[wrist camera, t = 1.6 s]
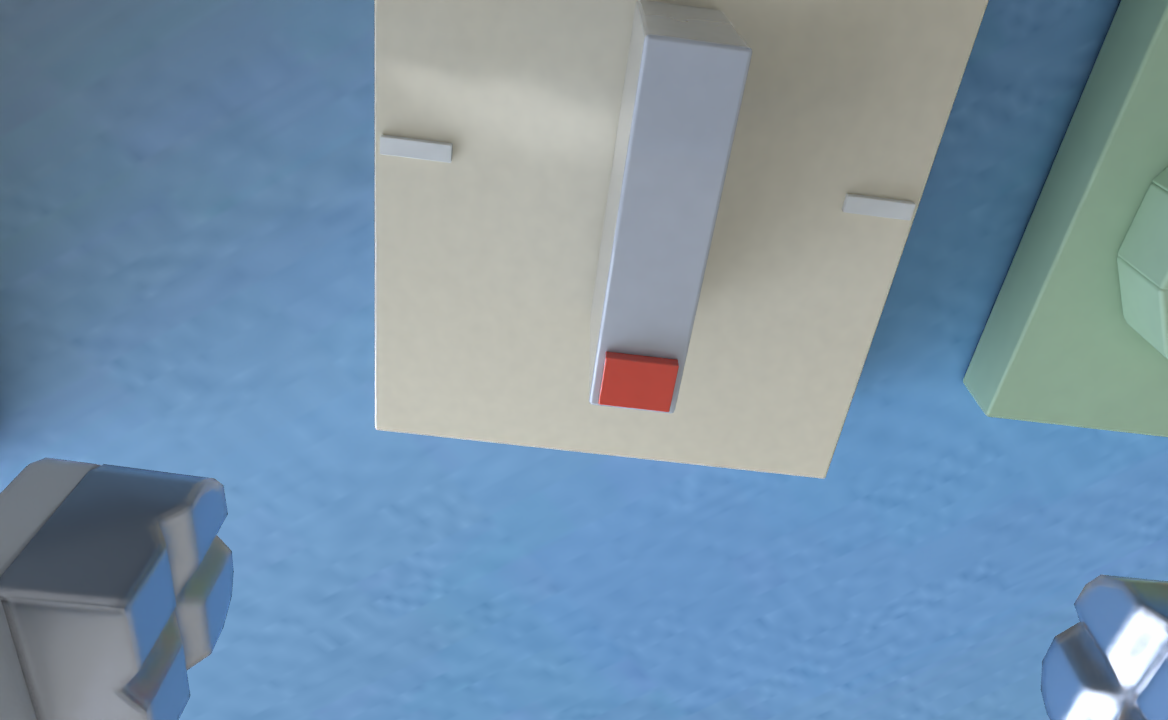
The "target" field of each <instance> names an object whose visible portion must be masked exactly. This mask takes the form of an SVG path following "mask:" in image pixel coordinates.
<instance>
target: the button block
mask: <svg viewBox="0 0 1168 720" xmlns="http://www.w3.org/2000/svg"><path fill="white" fill-rule="evenodd" d="M963 383H964V384H965V386H966V387H967V389H968V390H969V392H970V393H971V395H972V396H973V397H974V399H975V400H976V402H977V403H978V405H979V406H980V408H981V409H982V410H983V412H984V413H985V415H986V416H989V417H996V418H1005V419H1014V420H1023V421H1032V422H1040V423H1049V424H1058V425H1067V426H1075V427H1084V428H1093V429H1102V430H1111V431H1119V432H1128V433H1137V434H1146V435H1154V436H1163V437H1168V0H1121V2H1120V4H1119V7H1118V9H1117V11H1116V14H1115V16H1114V19H1113V21H1112V23H1111V26H1110V28H1109V31H1108V33H1107V35H1106V38H1105V40H1104V43H1103V45H1102V47H1101V50H1100V52H1099V55H1098V57H1097V59H1096V62H1095V64H1094V67H1093V69H1092V71H1091V74H1090V76H1089V79H1088V81H1087V83H1086V86H1085V88H1084V91H1083V93H1082V95H1081V98H1080V100H1079V103H1078V105H1077V107H1076V110H1075V112H1074V115H1073V117H1072V119H1071V122H1070V124H1069V127H1068V129H1067V131H1066V134H1065V136H1064V139H1063V141H1062V143H1061V146H1060V148H1059V151H1058V153H1057V155H1056V158H1055V160H1054V163H1053V165H1052V168H1051V170H1050V172H1049V175H1048V177H1047V180H1046V182H1045V184H1044V187H1043V189H1042V192H1041V194H1040V196H1039V199H1038V201H1037V204H1036V206H1035V208H1034V211H1033V213H1032V216H1031V218H1030V220H1029V223H1028V225H1027V228H1026V230H1025V232H1024V235H1023V237H1022V240H1021V242H1020V244H1019V247H1018V249H1017V252H1016V254H1015V256H1014V259H1013V261H1012V264H1011V266H1010V268H1009V271H1008V273H1007V276H1006V278H1005V280H1004V283H1003V285H1002V288H1001V290H1000V292H999V295H998V297H997V300H996V302H995V304H994V307H993V309H992V312H991V314H990V316H989V319H988V321H987V324H986V326H985V329H984V331H983V333H982V336H981V338H980V341H979V343H978V345H977V348H976V350H975V353H974V355H973V357H972V360H971V362H970V365H969V367H968V369H967V372H966V374H965V377H964V379H963Z"/></svg>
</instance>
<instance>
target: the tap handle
mask: <svg viewBox="0 0 1168 720" xmlns="http://www.w3.org/2000/svg"><path fill="white" fill-rule="evenodd" d="M751 57H752V49H751V47H750V46H749V45H748V43H747V42H746V41H745V40H744V38H743V37H742V36H741V34H740V33H739V32H738V31H737V29H736V28H735V27H734V26H733V24H732V23H731V22H730V20H729V19H728V18H727V17H726V15H725V14H724V13H723V12H722V11H721V10H714V9H707V8H699V7H692V6H685V5H678V4H670V3H663V2H656V1H648V0H637V2H636V4H635V11H634V18H633V25H632V32H631V39H630V45H629V52H628V59H627V66H626V73H625V80H624V87H623V94H622V100H621V107H620V114H619V121H618V128H617V135H616V142H615V149H614V155H613V162H612V169H611V176H610V183H609V190H608V197H607V204H606V211H605V217H604V224H603V231H602V238H601V245H600V252H599V259H598V266H597V272H596V279H595V286H594V293H593V300H592V307H591V314H590V364H589V402H590V404H592V405H600V406H609V407H618V408H627V409H636V410H644V411H653V412H662V413H674V411H675V408H676V404H677V399H678V394H679V390H680V385H681V380H682V376H683V371H684V367H685V362H686V357H687V353H688V348H689V344H690V339H691V334H692V330H693V325H694V320H695V316H696V311H697V307H698V302H699V297H700V293H701V288H702V284H703V279H704V274H705V270H706V265H707V260H708V256H709V251H710V247H711V242H712V237H713V233H714V228H715V224H716V219H717V214H718V210H719V205H720V200H721V196H722V191H723V187H724V182H725V177H726V173H727V168H728V164H729V159H730V154H731V150H732V145H733V141H734V136H735V131H736V127H737V122H738V117H739V113H740V108H741V104H742V99H743V94H744V90H745V85H746V81H747V76H748V71H749V67H750V62H751Z"/></svg>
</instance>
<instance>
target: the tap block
mask: <svg viewBox="0 0 1168 720" xmlns="http://www.w3.org/2000/svg"><path fill="white" fill-rule="evenodd" d="M648 1H656V2H663V3H670V4H678V5H685V6H692V7H699V8H707V9H714V10H721V11H722V12H723V13H724V14H725V15H726V17H727V18H728V19H729V20H730V22H731V23H732V24H733V26H734V27H735V28H736V29H737V31H738V32H739V33H740V34H741V36H742V37H743V38H744V40H745V41H746V42H747V43H748V45H749V46H750V47H751V49H752V57H751V62H750V67H749V71H748V76H747V81H746V85H745V90H744V94H743V99H742V104H741V108H740V113H739V117H738V122H737V127H736V131H735V136H734V141H733V145H732V150H731V154H730V159H729V164H728V168H727V173H726V177H725V182H724V187H723V191H722V196H721V200H720V205H719V210H718V214H717V219H716V224H715V228H714V233H713V237H712V242H711V247H710V251H709V256H708V260H707V265H706V270H705V274H704V279H703V284H702V288H701V293H700V297H699V302H698V307H697V311H696V316H695V320H694V325H693V330H692V334H691V339H690V344H689V348H688V353H687V357H686V362H685V367H684V371H683V376H682V380H681V385H680V390H679V394H678V399H677V404H676V408H675V411H674V413H662V412H653V411H644V410H636V409H627V408H618V407H609V406H600V405H592V404H590V402H589V364H590V314H591V307H592V300H593V293H594V286H595V279H596V272H597V266H598V259H599V252H600V245H601V238H602V231H603V224H604V217H605V211H606V204H607V197H608V190H609V183H610V176H611V169H612V162H613V155H614V149H615V142H616V135H617V128H618V121H619V114H620V107H621V100H622V94H623V87H624V80H625V73H626V66H627V59H628V52H629V45H630V39H631V32H632V25H633V18H634V11H635V4H636V2H637V0H374V229H375V429H376V430H382V431H392V432H401V433H410V434H419V435H428V436H437V437H447V438H456V439H465V440H474V441H483V442H493V443H502V444H511V445H520V446H529V447H538V448H548V449H557V450H566V451H575V452H584V453H593V454H603V455H612V456H621V457H630V458H639V459H649V460H658V461H667V462H676V463H685V464H694V465H704V466H713V467H722V468H731V469H740V470H749V471H759V472H768V473H777V474H786V475H795V476H804V477H814V478H825V477H826V474H827V471H828V469H829V466H830V463H831V460H832V457H833V454H834V451H835V448H836V445H837V442H838V439H839V436H840V433H841V431H842V428H843V425H844V422H845V419H846V416H847V413H848V410H849V407H850V404H851V401H852V398H853V395H854V393H855V390H856V387H857V384H858V381H859V378H860V375H861V372H862V369H863V366H864V363H865V360H866V358H867V355H868V352H869V349H870V346H871V343H872V340H873V337H874V334H875V331H876V328H877V325H878V322H879V320H880V317H881V314H882V311H883V308H884V305H885V302H886V299H887V296H888V293H889V290H890V287H891V284H892V282H893V279H894V276H895V273H896V270H897V267H898V264H899V261H900V258H901V255H902V252H903V249H904V246H905V244H906V241H907V238H908V235H909V232H910V229H911V226H912V223H913V220H914V217H915V214H916V211H917V208H918V206H919V203H920V200H921V197H922V194H923V191H924V188H925V185H926V182H927V179H928V176H929V173H930V171H931V168H932V165H933V162H934V159H935V156H936V153H937V150H938V147H939V144H940V141H941V138H942V135H943V133H944V130H945V127H946V124H947V121H948V118H949V115H950V112H951V109H952V106H953V103H954V100H955V97H956V95H957V92H958V89H959V86H960V83H961V80H962V77H963V74H964V71H965V68H966V65H967V62H968V59H969V57H970V54H971V51H972V48H973V45H974V42H975V39H976V36H977V33H978V30H979V27H980V24H981V22H982V19H983V16H984V13H985V10H986V7H987V4H988V1H989V0H648Z"/></svg>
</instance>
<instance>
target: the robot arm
mask: <svg viewBox="0 0 1168 720" xmlns="http://www.w3.org/2000/svg"><path fill="white" fill-rule="evenodd" d="M227 515H228V512H227V506H226V499H225V493H224V486H223V485H222V484H221V483H220V482H218V481H217V480H216V479H214V478H206V477H198V476H191V475H183V474H175V473H168V472H160V471H153V470H145V469H137V468H130V467H122V466H114V465H107V464H103V465H97V464H91V463H84V462H76V461H68V460H61V459H53V458H44V459H41V460H39V461H36V462H33V463H30V464H29V465H28V466H26V467H25V468H24V469H23V470H22V471H21V473H20V474H19V475H18V476H17V477H16V478H15V479H14V480H13V481H12V482H11V483H10V484H9V485H8V486H7V487H6V488H5V489H4V490H3V491H2V492H1V493H0V720H179V718H180V716H181V714H182V712H183V710H184V708H185V706H186V704H187V702H188V700H189V698H190V691H189V684H188V677H187V670H188V669H190V668H191V667H193V666H194V665H196V664H197V663H198V662H200V661H201V660H203V659H204V658H206V657H207V656H209V655H210V654H211V653H212V651H213V649H214V646H215V644H216V642H217V640H218V638H219V636H220V633H221V631H222V629H223V627H224V623H225V619H226V615H227V612H228V608H229V604H230V601H231V597H232V586H233V572H234V571H233V560H232V551H231V550H230V549H229V548H228V547H227V546H226V545H225V543H224V542H223V541H222V540H221V539H220V538H219V537H218V536H217V535H216V534H217V533H218V531H219V529H220V527H221V525H222V524H223V522H224V520H225V518H226V516H227ZM1074 605H1075V609H1076V612H1077V615H1078V618H1079V621H1080V622H1079V623H1077V624H1075V625H1074V626H1072V627H1070V628H1069V629H1067V630H1065V631H1064V632H1062V633H1060V634H1059V635H1057V636H1055V638H1054V640H1053V642H1052V643H1051V645H1050V647H1049V649H1048V651H1047V653H1046V655H1045V657H1044V659H1043V661H1042V677H1041V692H1042V696H1043V700H1044V704H1045V708H1046V712H1047V714H1048V716H1049V718H1050V720H1168V581H1159V580H1149V579H1139V578H1129V577H1119V576H1109V575H1100V576H1098V577H1097V578H1095V579H1094V580H1092V581H1091V582H1089V583H1088V584H1086V585H1085V587H1084V588H1083V590H1082V592H1081V593H1080V595H1079V597H1078V598H1077V600H1076V601H1075V603H1074Z"/></svg>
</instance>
